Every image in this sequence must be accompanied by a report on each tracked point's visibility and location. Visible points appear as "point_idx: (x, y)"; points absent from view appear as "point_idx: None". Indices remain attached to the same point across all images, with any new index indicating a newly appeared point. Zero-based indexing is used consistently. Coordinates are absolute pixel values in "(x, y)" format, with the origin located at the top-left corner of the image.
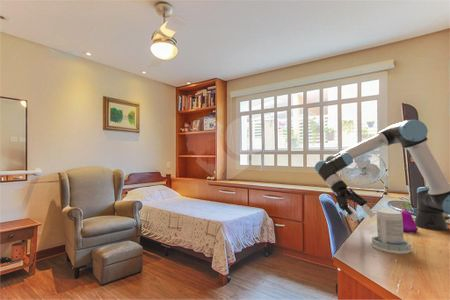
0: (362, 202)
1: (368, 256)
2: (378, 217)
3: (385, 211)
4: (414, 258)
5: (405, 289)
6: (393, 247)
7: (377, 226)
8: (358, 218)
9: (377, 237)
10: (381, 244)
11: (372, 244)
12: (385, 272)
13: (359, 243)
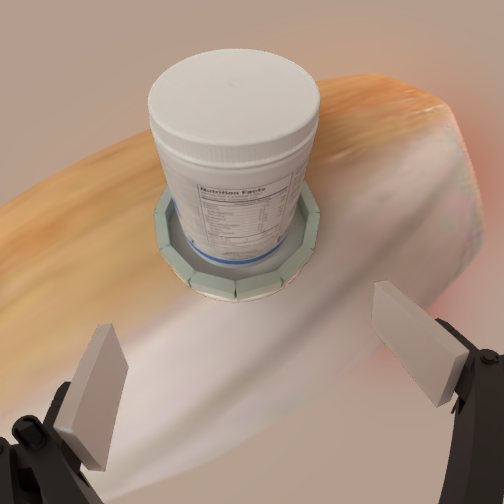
0: (68, 466)
1: (402, 204)
2: (311, 144)
3: (261, 90)
4: None
5: (425, 100)
6: None
7: (289, 204)
8: (382, 284)
9: (233, 281)
10: (315, 205)
11: (299, 270)
12: (421, 135)
13: (327, 327)
